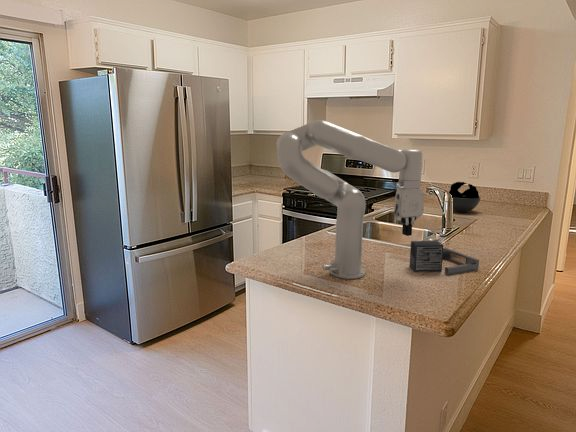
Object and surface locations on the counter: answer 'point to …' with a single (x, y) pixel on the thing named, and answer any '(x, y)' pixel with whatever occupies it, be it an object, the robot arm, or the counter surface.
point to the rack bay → (459, 262)
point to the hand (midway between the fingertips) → (406, 234)
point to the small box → (426, 256)
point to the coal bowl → (464, 197)
